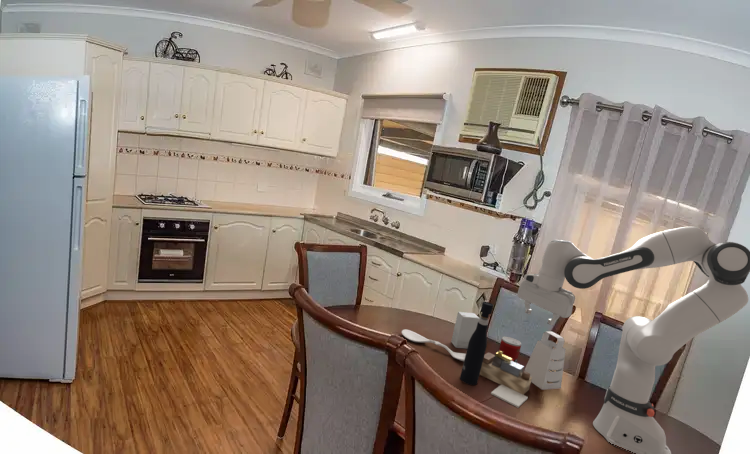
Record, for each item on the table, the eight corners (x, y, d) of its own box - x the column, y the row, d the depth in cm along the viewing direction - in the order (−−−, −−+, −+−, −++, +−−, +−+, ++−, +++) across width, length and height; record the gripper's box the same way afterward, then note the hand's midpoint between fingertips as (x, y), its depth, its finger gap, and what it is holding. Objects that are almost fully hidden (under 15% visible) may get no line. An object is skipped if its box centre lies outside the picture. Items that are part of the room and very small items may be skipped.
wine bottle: (480, 382, 160) (500, 305, 156) (471, 386, 155) (491, 307, 151) (465, 374, 164) (484, 299, 160) (456, 378, 160) (475, 301, 155)
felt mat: (527, 398, 155) (528, 397, 155) (518, 407, 147) (518, 406, 147) (501, 385, 161) (501, 384, 161) (490, 393, 153) (491, 392, 153)
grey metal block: (521, 374, 163) (524, 366, 162) (517, 377, 159) (520, 369, 159) (504, 366, 167) (506, 358, 166) (499, 369, 163) (502, 361, 163)
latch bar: (511, 360, 164) (512, 356, 164) (509, 362, 162) (511, 357, 162) (496, 354, 167) (498, 349, 167) (494, 355, 166) (496, 350, 165)
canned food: (516, 371, 176) (522, 346, 175) (496, 366, 178) (502, 341, 176) (513, 363, 184) (520, 339, 182) (494, 358, 185) (501, 334, 183)
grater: (540, 374, 179) (553, 328, 176) (560, 388, 170) (574, 340, 167) (521, 375, 174) (534, 328, 171) (541, 389, 165) (555, 340, 162)
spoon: (466, 368, 171) (468, 360, 170) (396, 337, 187) (398, 329, 186) (473, 361, 178) (475, 353, 178) (406, 332, 194) (408, 325, 194)
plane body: (528, 389, 162) (534, 369, 161) (522, 395, 157) (528, 374, 156) (484, 368, 173) (489, 349, 172) (477, 373, 167) (482, 353, 166)
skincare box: (467, 343, 195) (474, 312, 193) (472, 350, 190) (480, 318, 187) (450, 342, 193) (457, 310, 191) (455, 348, 187) (463, 315, 185)
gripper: (581, 293, 150) (569, 330, 152) (530, 273, 165) (520, 307, 168) (571, 294, 146) (560, 332, 148) (520, 273, 162) (510, 308, 164)
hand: (538, 318), depth 158 cm, fingers open, 8 cm apart
